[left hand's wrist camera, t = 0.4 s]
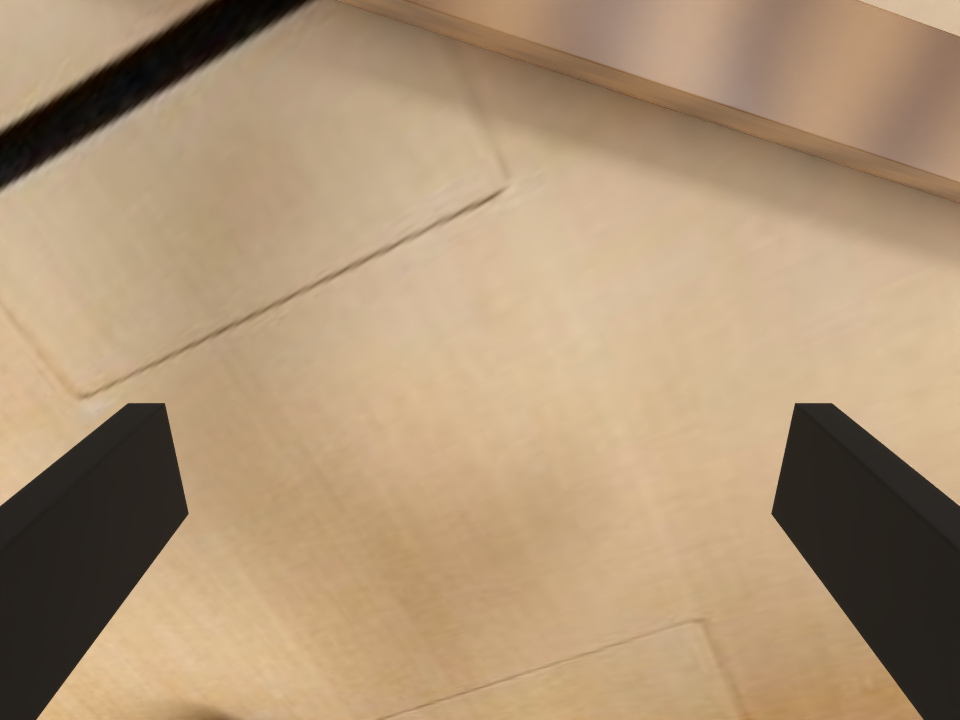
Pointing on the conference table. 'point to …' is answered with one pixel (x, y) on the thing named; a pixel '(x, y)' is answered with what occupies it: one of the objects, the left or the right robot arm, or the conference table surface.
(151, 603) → the conference table surface
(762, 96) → the beam
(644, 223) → the conference table surface
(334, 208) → the conference table surface
